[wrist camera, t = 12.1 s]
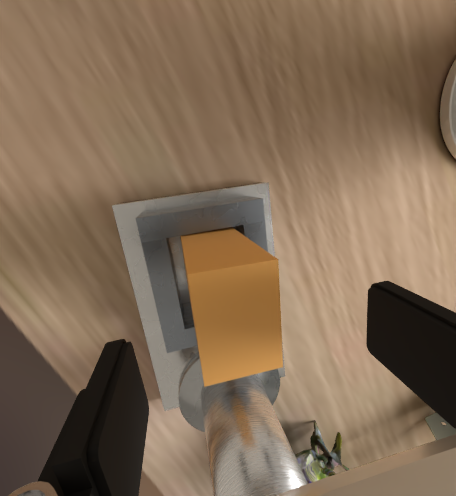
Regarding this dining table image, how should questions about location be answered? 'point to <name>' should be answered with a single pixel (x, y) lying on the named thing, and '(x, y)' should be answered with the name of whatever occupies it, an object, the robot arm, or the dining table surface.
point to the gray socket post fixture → (185, 342)
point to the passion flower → (320, 458)
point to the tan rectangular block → (233, 304)
